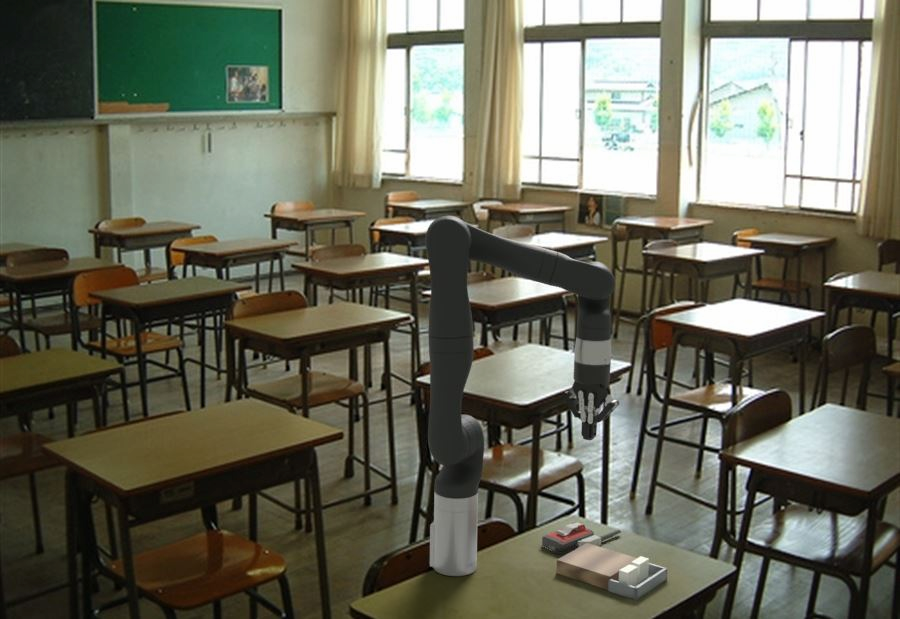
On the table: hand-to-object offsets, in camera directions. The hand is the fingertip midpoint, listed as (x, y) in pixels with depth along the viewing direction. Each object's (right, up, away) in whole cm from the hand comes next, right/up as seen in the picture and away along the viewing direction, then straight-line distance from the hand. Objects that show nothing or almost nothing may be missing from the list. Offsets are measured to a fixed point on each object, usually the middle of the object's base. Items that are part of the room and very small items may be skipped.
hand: (588, 439), depth 238 cm
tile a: (+7, -28, -4) cm, 29 cm away
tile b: (+10, -27, 0) cm, 29 cm away
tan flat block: (+2, -29, +3) cm, 29 cm away
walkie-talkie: (0, -26, +20) cm, 33 cm away
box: (+10, -30, -3) cm, 32 cm away
